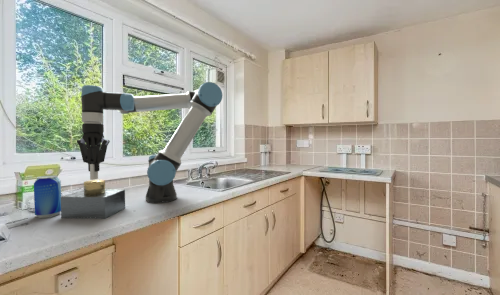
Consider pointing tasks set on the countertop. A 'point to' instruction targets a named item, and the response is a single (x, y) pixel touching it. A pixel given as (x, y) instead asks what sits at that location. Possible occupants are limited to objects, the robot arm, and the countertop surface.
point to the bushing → (94, 187)
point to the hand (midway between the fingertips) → (94, 179)
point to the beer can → (47, 196)
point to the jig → (92, 204)
